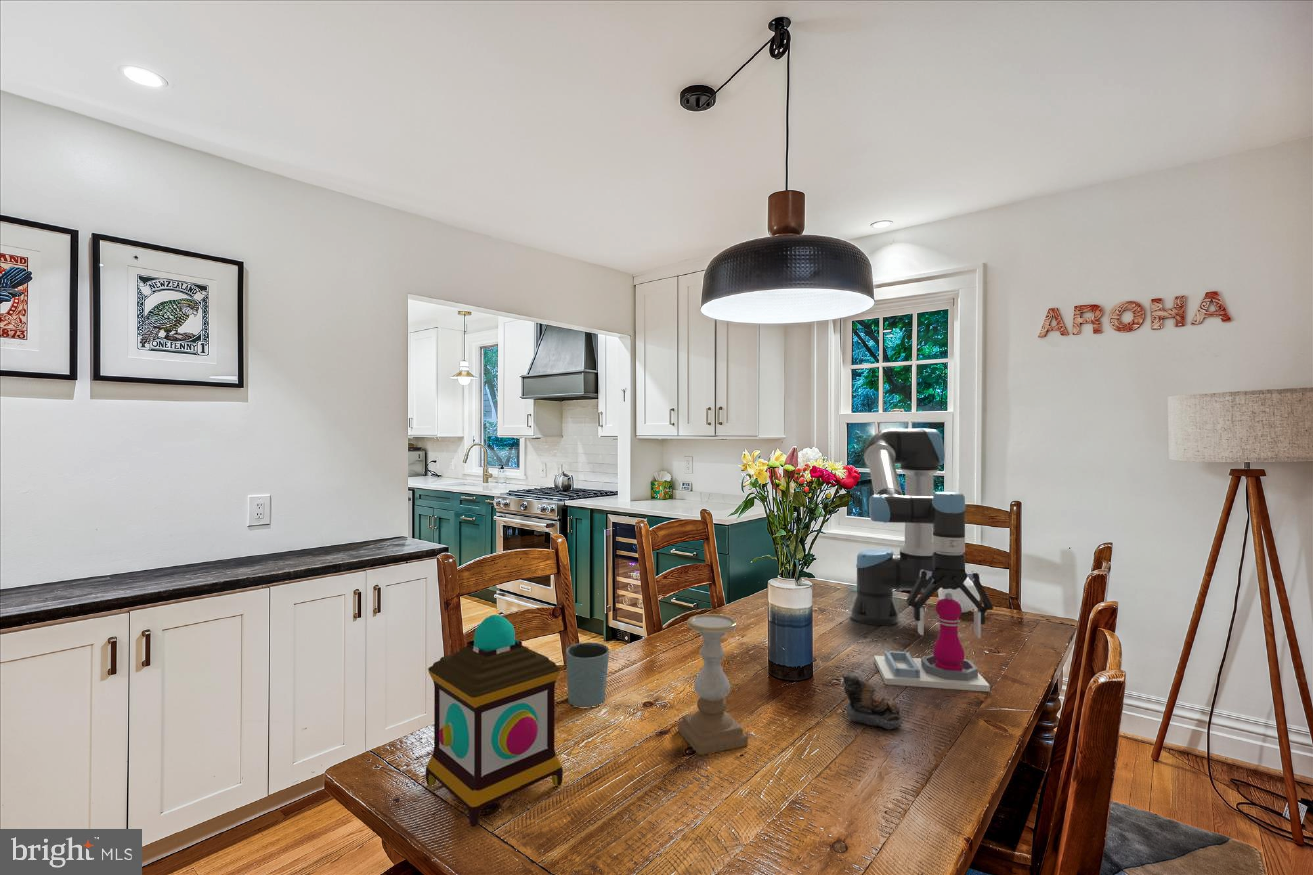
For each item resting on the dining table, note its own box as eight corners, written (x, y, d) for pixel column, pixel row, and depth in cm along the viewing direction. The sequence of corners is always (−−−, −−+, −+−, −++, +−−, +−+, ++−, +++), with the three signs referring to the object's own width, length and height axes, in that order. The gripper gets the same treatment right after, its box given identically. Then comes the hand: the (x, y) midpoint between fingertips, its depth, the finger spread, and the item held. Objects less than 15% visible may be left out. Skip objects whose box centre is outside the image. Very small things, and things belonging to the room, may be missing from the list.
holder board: (874, 660, 165) (874, 648, 165) (968, 667, 161) (968, 654, 161) (885, 684, 149) (885, 670, 149) (989, 691, 145) (989, 677, 145)
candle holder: (676, 730, 125) (676, 616, 125) (723, 721, 129) (723, 610, 129) (698, 756, 115) (698, 631, 115) (749, 746, 119) (749, 625, 119)
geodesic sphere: (996, 602, 204) (980, 565, 212) (959, 603, 202) (944, 566, 210) (974, 618, 215) (959, 582, 223) (939, 619, 213) (925, 583, 222)
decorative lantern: (414, 785, 105) (414, 614, 105) (513, 745, 119) (514, 594, 119) (468, 839, 91) (469, 641, 91) (574, 786, 105) (574, 615, 105)
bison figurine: (901, 722, 129) (901, 675, 129) (903, 737, 123) (903, 688, 123) (843, 713, 133) (843, 668, 133) (842, 727, 127) (842, 680, 127)
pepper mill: (957, 665, 157) (957, 589, 158) (969, 676, 150) (969, 596, 150) (929, 664, 158) (928, 589, 158) (939, 675, 151) (939, 596, 151)
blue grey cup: (583, 688, 146) (583, 639, 146) (617, 697, 141) (618, 646, 141) (556, 704, 138) (556, 652, 138) (591, 714, 132) (591, 660, 133)
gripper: (900, 553, 153) (900, 636, 153) (1007, 556, 148) (1007, 642, 148) (894, 548, 160) (894, 627, 160) (995, 551, 156) (995, 633, 156)
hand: (948, 635), depth 154 cm, fingers open, 13 cm apart
